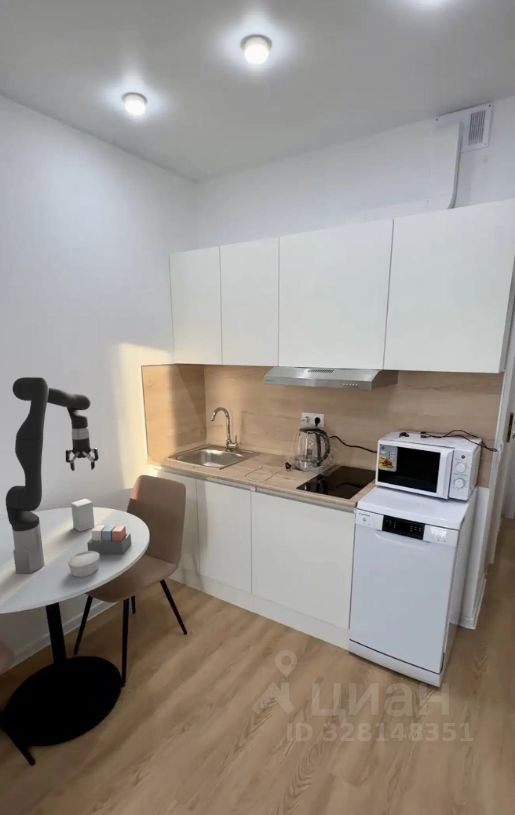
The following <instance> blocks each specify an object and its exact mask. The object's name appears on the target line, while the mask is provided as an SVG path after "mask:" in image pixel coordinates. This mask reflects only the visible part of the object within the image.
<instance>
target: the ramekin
mask: <svg viewBox="0 0 515 815" xmlns="http://www.w3.org/2000/svg"><path fill="white" fill-rule="evenodd" d="M100 555H101V554H99V553H97V552H95V551H88V550H87V551H82V552H77V553H76V554H73V555H72V556H70V558H69V559H68V561H67V564H68V566H69V569H70V570H69V571H70V573H71V575H73V576H74V577H75V578H85V577H88V576H90V575H93V574H94V573H95V572H97V570H98V569H99V565H100V564H99V563H100V558H101V556H100Z"/></svg>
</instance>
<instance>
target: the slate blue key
mask: <svg viewBox="0 0 515 815" xmlns="http://www.w3.org/2000/svg"><path fill="white" fill-rule="evenodd" d="M116 526H117V525H106V527H105V528H104V529H103V530H102V541H113V540H112V530H113V529H114V528H115V527H116Z"/></svg>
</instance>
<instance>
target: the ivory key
mask: <svg viewBox="0 0 515 815" xmlns="http://www.w3.org/2000/svg"><path fill="white" fill-rule="evenodd" d="M106 526H107V525H106V524H105V525H103V524H102V525H99V524H98V525H96V526H94V527H93V528H92V530H91V538H92V541H102V530H103V529H104V528H105V527H106Z"/></svg>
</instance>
